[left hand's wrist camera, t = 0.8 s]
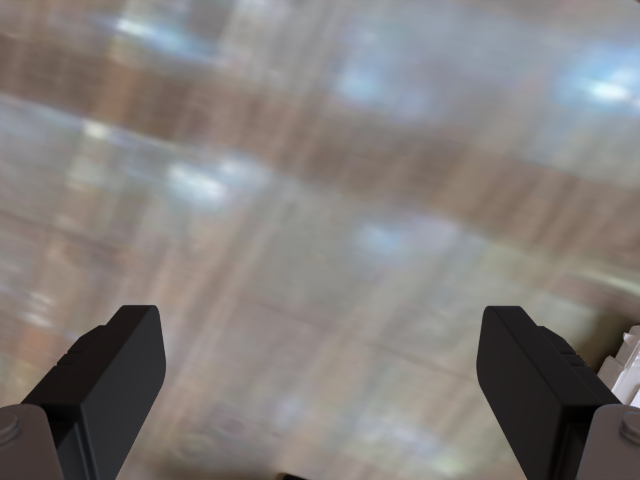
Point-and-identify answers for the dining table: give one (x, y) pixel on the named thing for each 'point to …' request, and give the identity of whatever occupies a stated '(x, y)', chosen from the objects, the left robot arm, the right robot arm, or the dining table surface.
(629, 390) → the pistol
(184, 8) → the dining table surface
